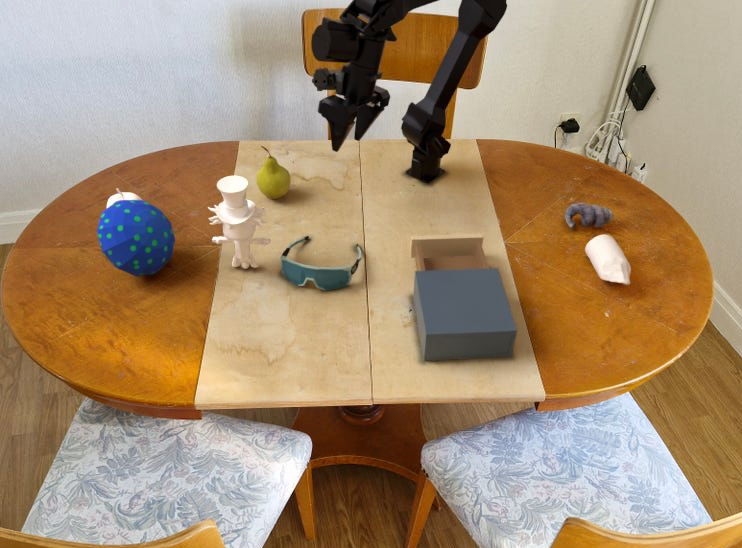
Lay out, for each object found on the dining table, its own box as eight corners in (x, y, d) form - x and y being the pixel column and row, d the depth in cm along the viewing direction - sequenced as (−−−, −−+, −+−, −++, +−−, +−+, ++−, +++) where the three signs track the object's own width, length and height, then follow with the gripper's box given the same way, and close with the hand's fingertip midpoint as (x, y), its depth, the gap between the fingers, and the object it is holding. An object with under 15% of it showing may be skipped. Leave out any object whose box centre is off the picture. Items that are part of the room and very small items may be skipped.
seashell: (561, 232, 140) (608, 231, 141) (571, 224, 135) (620, 224, 136) (559, 206, 140) (607, 206, 141) (569, 198, 135) (618, 197, 136)
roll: (603, 299, 124) (611, 275, 120) (581, 258, 132) (588, 234, 128) (635, 297, 125) (644, 273, 121) (611, 256, 133) (619, 232, 129)
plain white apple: (125, 210, 139) (114, 176, 134) (155, 218, 138) (146, 183, 132) (104, 230, 135) (93, 195, 129) (136, 238, 133) (125, 203, 128)
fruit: (285, 183, 147) (280, 132, 139) (296, 200, 143) (292, 148, 134) (254, 191, 145) (247, 138, 137) (265, 208, 141) (258, 155, 132)
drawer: (409, 250, 131) (410, 231, 128) (478, 247, 132) (481, 229, 129) (418, 305, 121) (420, 287, 118) (494, 303, 122) (497, 284, 119)
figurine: (213, 280, 125) (196, 196, 112) (221, 254, 131) (205, 170, 118) (271, 282, 125) (260, 198, 112) (276, 256, 131) (267, 172, 118)
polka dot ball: (98, 197, 129) (139, 171, 119) (158, 246, 137) (202, 224, 127) (60, 254, 122) (102, 231, 112) (127, 301, 130) (170, 284, 120)
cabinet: (413, 297, 124) (415, 270, 119) (493, 294, 125) (498, 267, 120) (423, 360, 113) (426, 334, 109) (511, 356, 114) (517, 330, 110)
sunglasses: (272, 284, 125) (271, 260, 122) (298, 244, 136) (297, 222, 133) (347, 297, 123) (348, 273, 120) (367, 256, 134) (368, 233, 131)
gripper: (349, 42, 133) (333, 120, 143) (300, 54, 119) (285, 140, 128) (400, 62, 131) (380, 140, 140) (356, 77, 117) (337, 163, 126)
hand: (346, 145), depth 134 cm, fingers open, 9 cm apart
